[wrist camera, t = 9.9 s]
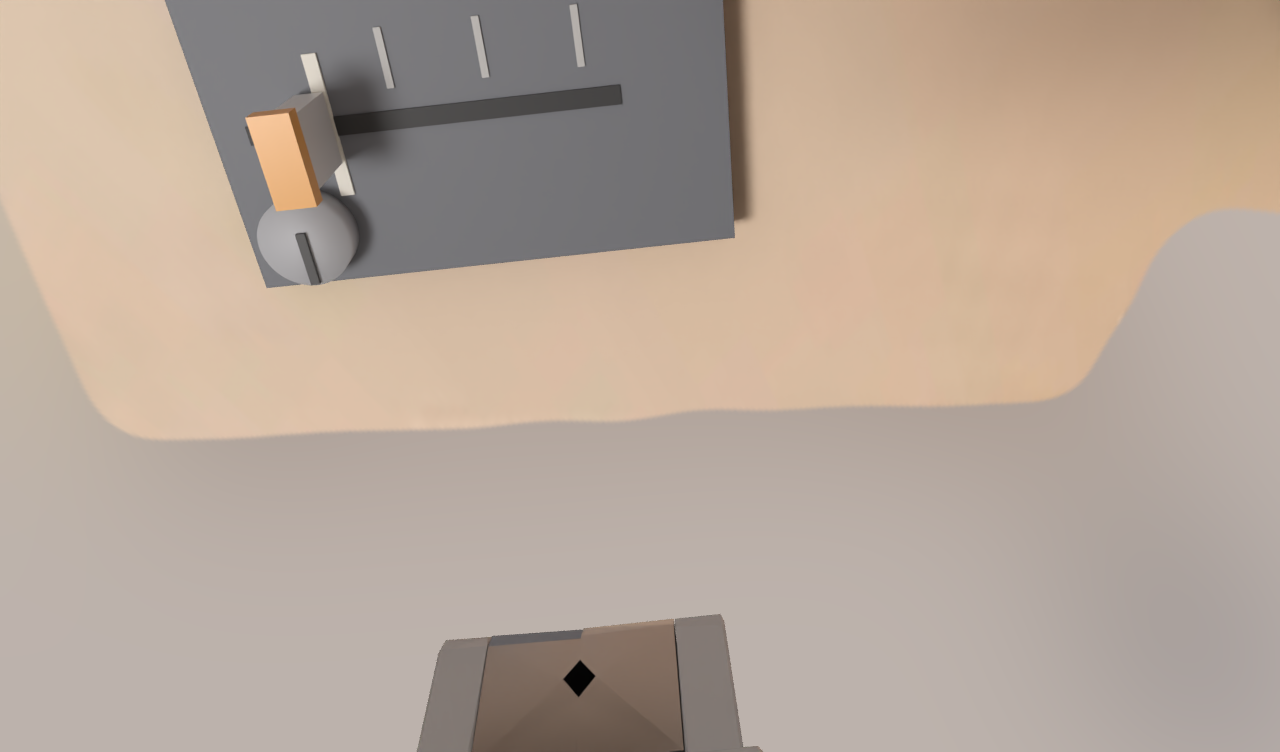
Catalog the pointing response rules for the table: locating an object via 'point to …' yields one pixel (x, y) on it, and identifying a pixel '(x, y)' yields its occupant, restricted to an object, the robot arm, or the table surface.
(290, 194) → the fader
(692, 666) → the robot arm
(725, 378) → the table surface
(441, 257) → the console
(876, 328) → the table surface
